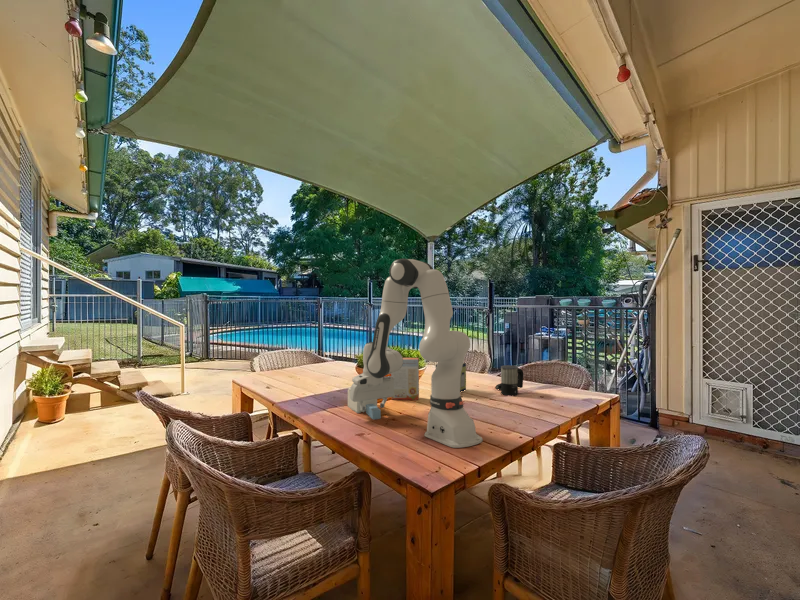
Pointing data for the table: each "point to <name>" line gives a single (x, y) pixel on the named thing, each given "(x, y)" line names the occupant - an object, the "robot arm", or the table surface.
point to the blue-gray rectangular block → (373, 411)
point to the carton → (356, 406)
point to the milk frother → (510, 380)
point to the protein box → (463, 378)
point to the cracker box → (407, 380)
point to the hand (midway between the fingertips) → (372, 408)
